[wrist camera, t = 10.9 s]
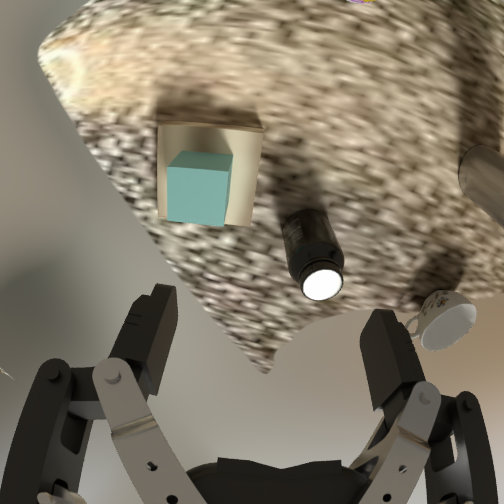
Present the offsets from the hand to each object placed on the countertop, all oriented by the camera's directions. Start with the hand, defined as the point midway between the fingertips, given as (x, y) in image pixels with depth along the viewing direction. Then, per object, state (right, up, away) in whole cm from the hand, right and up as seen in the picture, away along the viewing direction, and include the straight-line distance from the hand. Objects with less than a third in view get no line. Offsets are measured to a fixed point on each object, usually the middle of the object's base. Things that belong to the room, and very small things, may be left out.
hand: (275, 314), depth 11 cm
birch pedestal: (-6, +13, +24) cm, 28 cm away
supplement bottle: (+7, +6, +29) cm, 31 cm away
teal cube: (-6, +11, +22) cm, 25 cm away
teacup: (+34, -7, +38) cm, 51 cm away
